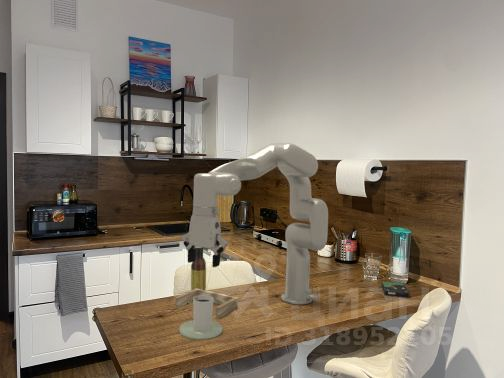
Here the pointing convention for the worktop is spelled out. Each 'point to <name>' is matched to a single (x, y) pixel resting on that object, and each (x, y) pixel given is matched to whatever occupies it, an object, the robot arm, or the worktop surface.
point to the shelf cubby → (223, 300)
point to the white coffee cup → (203, 312)
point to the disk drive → (395, 289)
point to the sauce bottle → (198, 270)
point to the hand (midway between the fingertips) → (203, 264)
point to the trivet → (190, 333)
